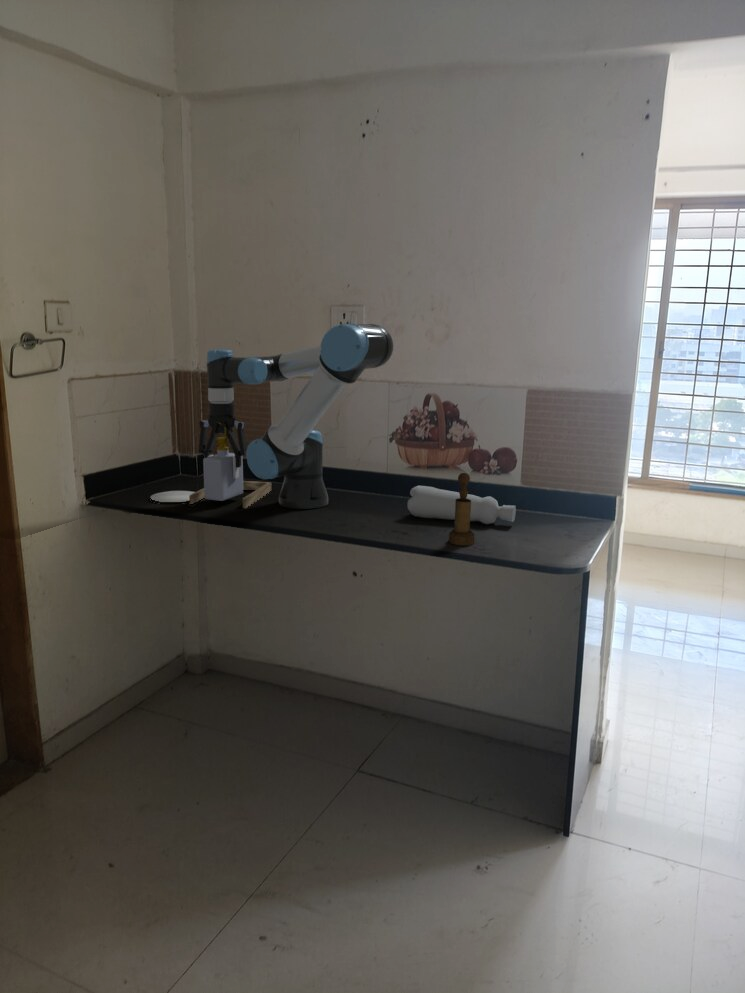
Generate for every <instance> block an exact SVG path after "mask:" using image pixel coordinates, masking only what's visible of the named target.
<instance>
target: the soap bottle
mask: <svg viewBox="0 0 745 993" xmlns="http://www.w3.org/2000/svg"><path fill="white" fill-rule="evenodd" d="M216 422H217V421H216ZM217 423H219V424H221V425H222V423H220V422H217ZM224 428H225V433H224V436H220V437H219V436H218V437H217V438H215V439H216V440H217V443H219V446H218V447H216V448H217V449H216V452H217V454H215V455H214V454H213V455H214V456H210V457H207V458H205V457H204V458H203V460H202V462H203V463H202V465H203V488H204V494H205V499H204V500H212V501H218V502H219V501H220V502H221V501H222V502H223V501H226V500H228V499H231V498H235V497H236V496H240V495H242V494H244V491H243V481H244V465H243V464H244V462H243V460H244V459H243V456H244V455H242V456H241V467H239V477H238V478H236V479H235V478H233V457H234V456H235V454H234V452H229V446H226V444H227V443H228V440H229V439H228V437H227V436H226V427H224ZM230 433H231V431H230ZM216 440H215V441H216Z"/></svg>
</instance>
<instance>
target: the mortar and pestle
mask: <svg viewBox="0 0 745 993" xmlns="http://www.w3.org/2000/svg"><path fill="white" fill-rule="evenodd" d="M470 481H471V477H470V475H469V473H467V472H461V473H459V474H458V477H457V482H458V484H459V486H460V489H459V491H458V493H459V494H460V498H458V499H456V502H455V520H454V526H453V529H452V530H451V531H449V533H448V543H450V544H453V545H455V546H472V545H473V544H475V533H474V532H473V531H472V530H471V529H470V527H471V521H470V513H471V500H469V499H466V498H467V494H469V491H468V489H467V487H468V485H469V483H470Z"/></svg>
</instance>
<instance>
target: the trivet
mask: <svg viewBox="0 0 745 993" xmlns="http://www.w3.org/2000/svg"><path fill="white" fill-rule="evenodd" d="M195 492H196V491H190V490H169V491H162V492H157V493H153V494H151V495H150V498H151V499H152V500H155V501H159V502H186V501H190V499H189V495H191V494H193V493H195ZM150 498H149V499H150ZM151 499H150V500H151Z"/></svg>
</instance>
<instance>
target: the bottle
mask: <svg viewBox="0 0 745 993" xmlns="http://www.w3.org/2000/svg"><path fill="white" fill-rule="evenodd" d="M409 494H410V496H411V498H409V499H408V500H407V510H408V511H409V512H410V514H411V515H412V516H414V517H416V518H418V517H419V518H424V519H438V520H439V519H440V520H451V521H453V520H454V521H455V502H456V499H458V498H460V494H459V491H458V492H457V491H453V490H452V491H451V490H446V489H440V488H436V487H433V486H427V485H417V486H414V487H412V488H411V489H410V491H409ZM466 499H469V500H471V513H470V522H481V523H482V524H485V525H490V524H493V523H495V521H496V519H497V518H500V520H501V521H503V520H504V521H508V522H512V523H514V521H515V518H516V512H517V506H516V505H508V504H507V505H505V504H503V505H502V506H501V505H500V506H499V503H498V500H496V499H495V498H494V497H493V496H485V497H481V496H477V495H475V494H469V493H468V494H467V498H466Z"/></svg>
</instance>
